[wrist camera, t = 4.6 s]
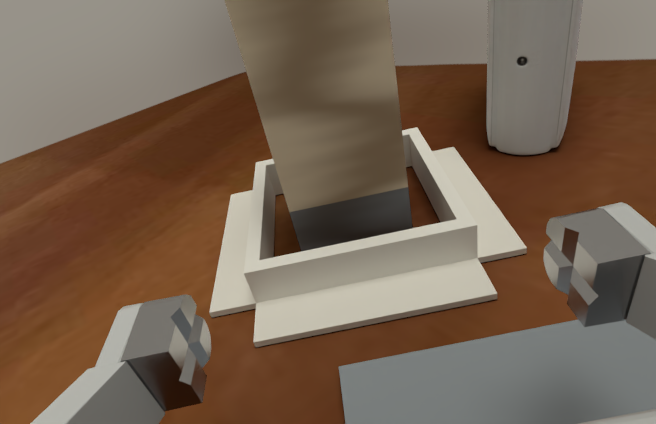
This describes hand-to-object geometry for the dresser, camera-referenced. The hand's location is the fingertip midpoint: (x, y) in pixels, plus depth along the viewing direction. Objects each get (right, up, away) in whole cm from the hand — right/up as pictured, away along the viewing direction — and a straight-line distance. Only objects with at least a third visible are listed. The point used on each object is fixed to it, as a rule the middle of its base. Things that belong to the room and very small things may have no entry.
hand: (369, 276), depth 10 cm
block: (0, +1, +12) cm, 12 cm away
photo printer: (+11, +7, +17) cm, 22 cm away
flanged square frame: (0, +1, +12) cm, 12 cm away
